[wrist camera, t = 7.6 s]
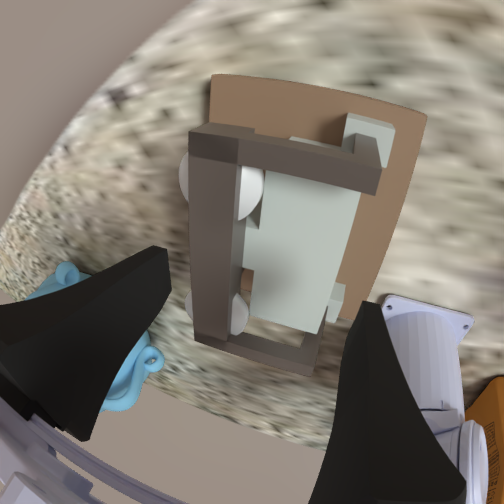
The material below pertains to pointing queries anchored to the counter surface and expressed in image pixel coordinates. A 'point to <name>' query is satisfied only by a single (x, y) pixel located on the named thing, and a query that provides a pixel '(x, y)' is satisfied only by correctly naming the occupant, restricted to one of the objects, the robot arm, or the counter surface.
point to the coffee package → (492, 435)
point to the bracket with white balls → (234, 226)
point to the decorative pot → (136, 362)
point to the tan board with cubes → (317, 198)
